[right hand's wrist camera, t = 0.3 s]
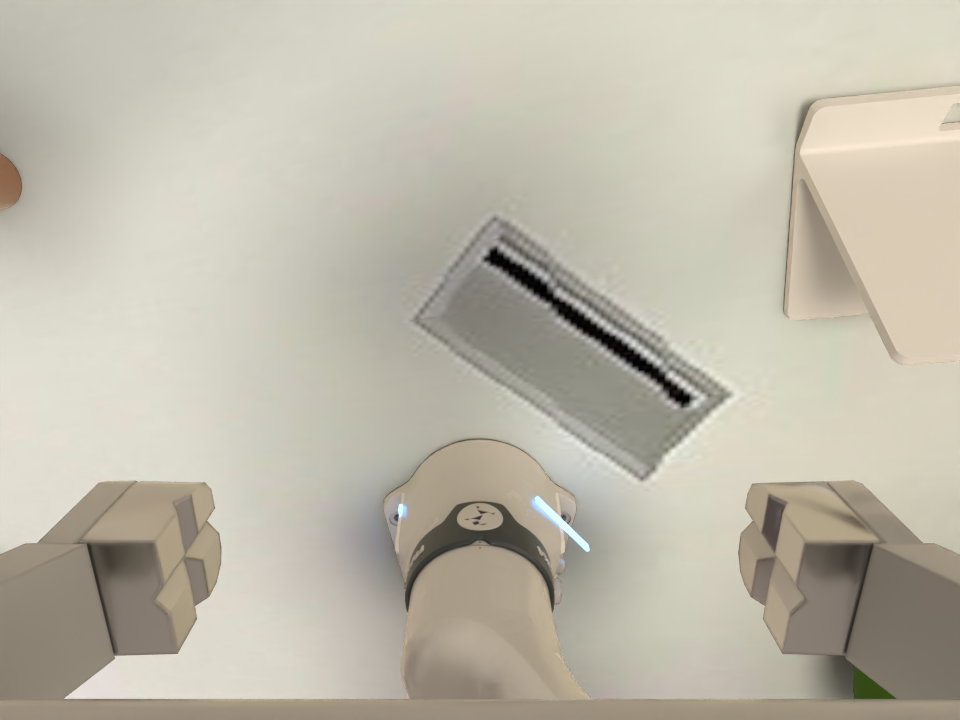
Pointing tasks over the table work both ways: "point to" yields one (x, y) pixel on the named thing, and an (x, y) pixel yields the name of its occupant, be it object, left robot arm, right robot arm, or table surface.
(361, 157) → the table surface
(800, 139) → the tablet stand
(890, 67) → the table surface
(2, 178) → the jar
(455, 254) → the table surface
